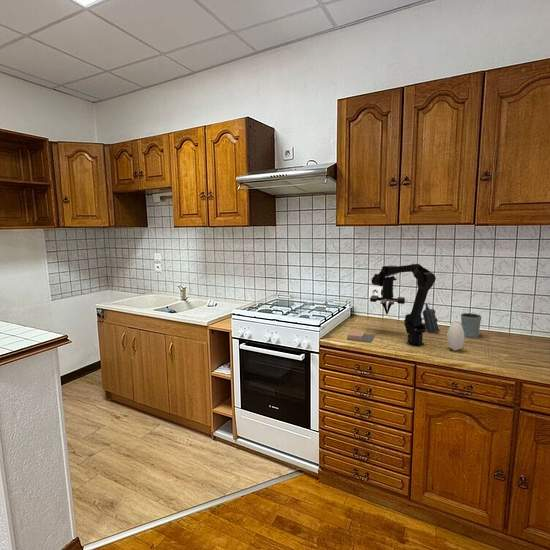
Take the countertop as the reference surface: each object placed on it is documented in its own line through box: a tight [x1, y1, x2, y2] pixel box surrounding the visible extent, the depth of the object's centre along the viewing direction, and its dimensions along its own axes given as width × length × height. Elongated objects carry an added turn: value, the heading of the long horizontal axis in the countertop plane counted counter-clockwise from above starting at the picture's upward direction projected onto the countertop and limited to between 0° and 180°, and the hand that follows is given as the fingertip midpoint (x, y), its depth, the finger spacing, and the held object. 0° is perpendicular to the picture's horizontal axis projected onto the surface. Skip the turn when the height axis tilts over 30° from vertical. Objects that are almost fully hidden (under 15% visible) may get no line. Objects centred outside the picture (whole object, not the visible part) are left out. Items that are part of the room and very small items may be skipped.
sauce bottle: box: [446, 315, 465, 351], centre depth 174 cm, size 8×8×18 cm
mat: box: [346, 333, 375, 344], centre depth 196 cm, size 13×12×1 cm
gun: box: [422, 303, 441, 333], centre depth 207 cm, size 3×17×15 cm
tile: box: [347, 329, 366, 340], centre depth 197 cm, size 2×10×8 cm
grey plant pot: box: [460, 312, 482, 339], centre depth 197 cm, size 10×10×12 cm
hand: (387, 314), depth 201 cm, fingers closed
